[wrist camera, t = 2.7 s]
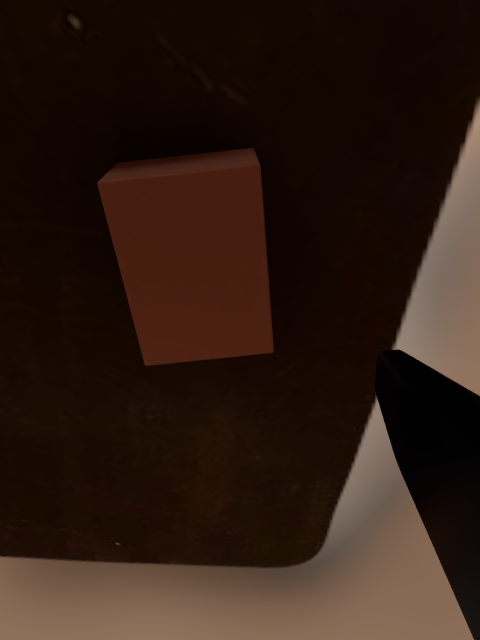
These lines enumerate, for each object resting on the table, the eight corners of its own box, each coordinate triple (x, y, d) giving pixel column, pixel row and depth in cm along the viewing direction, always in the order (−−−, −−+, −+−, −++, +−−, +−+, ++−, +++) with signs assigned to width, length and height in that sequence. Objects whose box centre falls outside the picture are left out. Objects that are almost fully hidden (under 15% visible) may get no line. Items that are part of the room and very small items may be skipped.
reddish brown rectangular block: (116, 162, 16) (96, 182, 13) (253, 147, 16) (260, 163, 13) (155, 326, 19) (144, 366, 17) (266, 314, 19) (273, 353, 17)
